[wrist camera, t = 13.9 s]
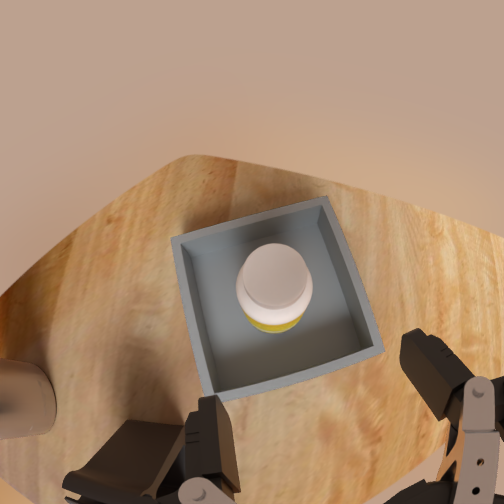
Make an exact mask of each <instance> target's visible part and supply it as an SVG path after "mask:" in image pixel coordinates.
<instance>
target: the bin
mask: <svg viewBox="0 0 504 504" xmlns="http://www.w3.org/2000/svg"><path fill="white" fill-rule="evenodd" d="M272 243H277V244H283V245H287V246H289V247H291V248H293V249H294V250H296V251H297V252H298V253H299V254H300V255H301V256H302V258H303V260H304V261H305V264H306V266H307V268H308V270H309V272H310V274H311V278H312V283H313V291H312V296H311V300H310V302H309V305H308V307H307V308H306V310H305V312H304V313H303V315H302V317H301V319H300V320H299V322H298V323H297V324H296V325H295V326H294V327H293V328H291V329H290V330H288V331H286V332H283V333H280V334H267V333H264V332H261V331H259V330H257V329H256V328H255V327H254V326H252V325H251V323H250V322H249V321H248V319H247V318H246V316H245V314H244V312H243V310H242V308H241V306H240V303H239V301H238V298H237V294H236V281H237V276H238V273H239V271H240V269H241V268H242V266H243V265H244V263H245V261H246V259H247V258H248V256H249V255H250V254H251V253H252V252H253V251H254V250H256V249H257V248H259V247H261V246H263V245H267V244H272ZM171 244H172V250H173V256H174V262H175V267H176V273H177V278H178V284H179V289H180V294H181V299H182V304H183V309H184V313H185V318H186V323H187V327H188V332H189V336H190V340H191V345H192V349H193V353H194V357H195V361H196V365H197V369H198V373H199V377H200V381H201V385H202V389H203V393H204V396H205V397H206V396H211V395H216V394H217V395H218V397H219V398H220V400H221V402H225V401H230V400H234V399H239V398H243V397H247V396H252V395H256V394H260V393H263V392H267V391H271V390H275V389H278V388H282V387H285V386H289V385H292V384H296V383H299V382H302V381H306V380H309V379H312V378H315V377H318V376H321V375H324V374H327V373H330V372H333V371H336V370H339V369H342V368H344V367H347V366H350V365H352V364H355V363H358V362H360V361H363V360H366V359H368V358H371V357H373V356H376V355H378V354H381V353H383V352H385V349H384V346H383V342H382V339H381V336H380V333H379V330H378V327H377V324H376V321H375V318H374V315H373V312H372V309H371V306H370V303H369V300H368V297H367V294H366V291H365V289H364V286H363V283H362V280H361V278H360V275H359V272H358V270H357V267H356V264H355V262H354V259H353V257H352V254H351V252H350V249H349V247H348V244H347V242H346V239H345V237H344V234H343V232H342V229H341V227H340V225H339V222H338V220H337V217H336V215H335V213H334V210H333V208H332V206H331V204H330V201H329V199H328V197H327V196H323V197H319V198H315V199H311V200H307V201H303V202H299V203H295V204H291V205H287V206H283V207H279V208H276V209H272V210H268V211H264V212H260V213H257V214H253V215H249V216H246V217H242V218H238V219H235V220H231V221H227V222H224V223H220V224H217V225H213V226H209V227H206V228H202V229H199V230H195V231H192V232H189V233H185V234H182V235H178V236H175V237H172V238H171Z"/></svg>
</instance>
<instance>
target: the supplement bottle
mask: <svg viewBox="0 0 504 504" xmlns="http://www.w3.org/2000/svg"><path fill="white" fill-rule="evenodd" d="M312 291H313V283H312V278H311V274H310V272H309V270H308V268H307V266H306V264H305V261H304V260H303V258H302V256H301V255H300V254H299V253H298V252H297V251H296V250H294V249H293V248H291V247H289V246H287V245H283V244H277V243H272V244H267V245H263V246H261V247H259V248H257V249H256V250H254V251H253V252H252V253H251V254H250V255H249V256H248V258H247V259H246V261H245V263H244V265H243V266H242V268H241V269H240V271H239V273H238V276H237V281H236V294H237V298H238V301H239V303H240V306H241V308H242V310H243V312H244V314H245V316H246V318H247V319H248V321H249V322H250V323H251V325H252V326H254V327H255V328H256V329H257V330H259V331H261V332H264V333H267V334H280V333H283V332H286V331H288V330H290V329H291V328H293V327H294V326H295V325H296V324H297V323H298V322H299V320H300V319H301V317H302V315H303V313H304V312H305V310H306V308H307V307H308V305H309V302H310V300H311V296H312Z"/></svg>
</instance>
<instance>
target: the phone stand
mask: <svg viewBox="0 0 504 504" xmlns="http://www.w3.org/2000/svg"><path fill="white" fill-rule="evenodd" d="M185 445H186V444H185V426H178V425H167V424H158V423H149V422H141V421H134V420H128V419H127V420H126V421H125V422H124V424H123V425H122V426H121V427H120V428H119V429H118V430H117V431H116V432H115V433H114V435H113V436H112V437H111V438H110V439H109V440H108V441H107V442H106V443H105V444H104V445H103V446H102V448H101V449H100V450H99V451H98V452H97V453H96V454H95V455H94V456H93V457H92V458H91V459H90V461H89V462H88V463H87V464H86V465H85V466H84V467H83V468H81V469H79V470H76V471H71V472H69V473H68V474H67V475H66V476H65V478H64V480H63V484H62V488H64V489H66V490H69V491H71V492H74V493H77V494H79V495H81V497H80V499H79V500H75V499H72V498H70V497H67V496H66V497H65V500H66V501H67V502H68V503H69V504H130V502H131V501H132V500H134V499H135V498H137V497H140V496H147V497H151V498H153V499H157V498H160V497H163V496H166V495H169V494H171V493H174V492H175V491H177V490H178V489H179V488H180V487H181V485H182V484H183V483H184V480H185Z"/></svg>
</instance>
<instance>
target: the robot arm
mask: <svg viewBox="0 0 504 504" xmlns="http://www.w3.org/2000/svg"><path fill="white" fill-rule="evenodd" d="M400 365H401V368H402V370H403V371H404V373H405V374H406V375H407V377H408V378H409V380H410V381H411V382H412V384H413V385H414V387H415V388H416V389H417V391H418V392H419V394H420V395H421V397H422V398H423V399H424V401H425V402H426V404H427V405H428V407H429V408H430V409H431V411H432V412H433V414H434V415H435V417H436V418H437V420H438V421H441V420H442V419H444V418H446V417H447V418H448V420H449V423H448V429H447V437H446V443H445V450H444V456H443V460H442V463H441V466H440V468H439V471H438V474H437V478H436V481H433V482H428V483H426V481H425V480H424V479H423V480H421V481H419V482H417V483H415V484H414V485H412V486H410V487H408V488H406V489H404V490H402V491H400V492H399V493H397V494H396V495H395V496H393V497H392V498H391V499H390V500H388V501H387V502H385V503H384V504H504V496H503V495H498V494H494V492H495V486H496V478H497V469H498V459H499V445H500V437H501V439H502V440H503V442H504V376H502V377H499V378H496V379H492V380H489V379H487V378H485V377H481V376H477V377H476V376H474V375H473V374H472V372H471V371H470V370H469V369H468V368H467V367H466V366H465V365H464V364H463V362H462V361H461V360H460V359H459V358H458V357H457V356H456V355H455V354H454V353H453V351H452V350H451V349H450V348H448V346H447V345H446V344H445V343H444V342H443V341H442V340H441V339H440V338H438V337H436V336H434V335H432V334H431V335H429V336H427V335H426V334H425V333H424V332H423V331H422V330H421V329H419V328H416V329H414V330H412V331H410V332H408V333H405V334H403V335H402V340H401V350H400ZM198 408H199V411H195V412H190V413H189V416H188V418H187V420H186V422H185V435H186V436H185V444H186V445H185V480H184V483H183V484H182V485H181V487H180V488H179V489H178V490H177V491H175V492H174V493H171V494H169V495H166V496H163V497H160V498H157V499H153V498H151V497H147V496H140V497H137V498H135V499H134V500H132V501H131V502H130V504H237V503H235V500H234V493H239V492H241V489H240V482H239V476H238V469H237V462H236V455H235V447H234V440H233V432H232V425H231V421H230V418H229V415H228V413H227V411H226V410H225V408H224V406H223V404H222V402H221V400H220V398H219V397H218V395H217V394H216V395H211V396H206V397H201V398H199V400H198ZM55 416H56V402H55V396H54V393H53V389H52V387H51V384H50V382H49V380H48V378H47V377H46V375H45V374H44V372H43V371H42V370H41V369H40V368H39V367H38V366H36V365H34V364H32V363H28V362H22V361H15V360H9V359H4V358H0V440H2V439H11V438H19V437H27V436H34V435H40V434H44V433H46V432H48V431H49V430H50V429H51V427H52V426H53V424H54V421H55ZM495 429H496V430H495Z"/></svg>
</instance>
